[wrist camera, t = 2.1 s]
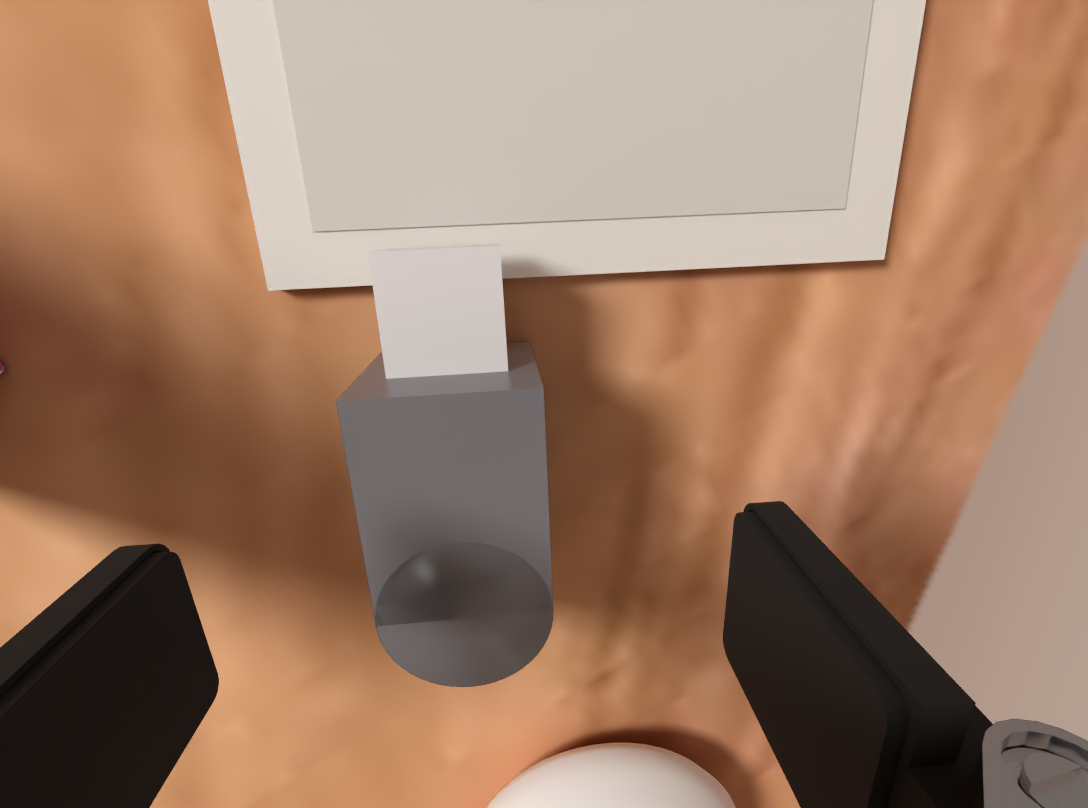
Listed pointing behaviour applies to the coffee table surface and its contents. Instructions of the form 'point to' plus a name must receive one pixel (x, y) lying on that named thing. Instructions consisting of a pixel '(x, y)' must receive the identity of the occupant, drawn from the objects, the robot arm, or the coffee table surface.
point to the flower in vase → (614, 781)
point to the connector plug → (450, 470)
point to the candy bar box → (1, 368)
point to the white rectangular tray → (568, 130)
